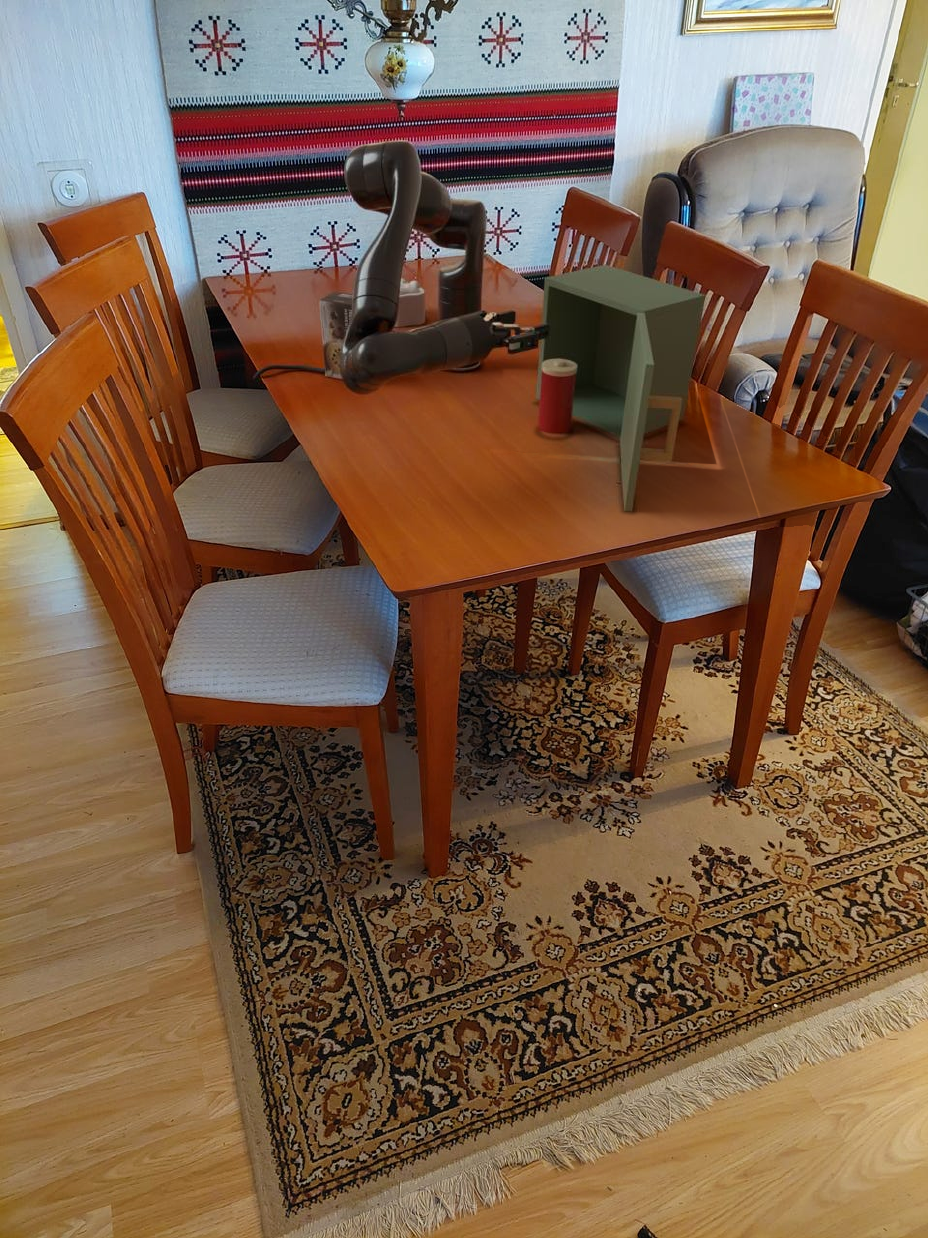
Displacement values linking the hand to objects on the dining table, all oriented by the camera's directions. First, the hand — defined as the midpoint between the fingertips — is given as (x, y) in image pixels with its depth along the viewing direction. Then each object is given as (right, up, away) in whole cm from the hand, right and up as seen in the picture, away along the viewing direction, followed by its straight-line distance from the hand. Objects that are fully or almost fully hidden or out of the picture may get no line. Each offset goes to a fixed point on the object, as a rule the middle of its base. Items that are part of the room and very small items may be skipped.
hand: (530, 323), depth 149 cm
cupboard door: (+19, -26, +2) cm, 32 cm away
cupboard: (+17, -10, +24) cm, 31 cm away
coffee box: (-35, +2, +38) cm, 52 cm away
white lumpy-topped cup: (-27, +25, +70) cm, 79 cm away
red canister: (+6, -15, +17) cm, 23 cm away
